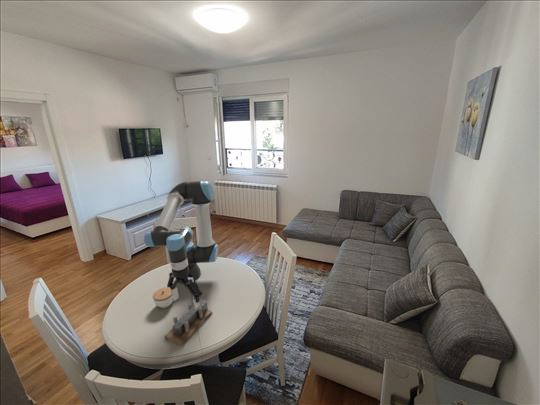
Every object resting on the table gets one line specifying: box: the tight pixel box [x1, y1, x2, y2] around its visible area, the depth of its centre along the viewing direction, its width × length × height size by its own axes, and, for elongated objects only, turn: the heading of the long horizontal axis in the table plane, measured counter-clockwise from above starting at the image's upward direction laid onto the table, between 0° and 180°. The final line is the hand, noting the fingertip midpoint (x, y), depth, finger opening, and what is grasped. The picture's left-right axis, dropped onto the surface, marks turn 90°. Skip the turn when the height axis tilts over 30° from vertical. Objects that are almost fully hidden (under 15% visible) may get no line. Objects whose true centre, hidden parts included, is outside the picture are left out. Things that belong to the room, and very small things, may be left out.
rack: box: [164, 303, 213, 347], centre depth 122 cm, size 22×11×8 cm, turn 155°
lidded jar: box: [152, 286, 174, 309], centre depth 137 cm, size 11×11×9 cm
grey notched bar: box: [172, 298, 209, 337], centre depth 124 cm, size 20×5×5 cm, turn 155°
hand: (186, 302), depth 120 cm, fingers open, 13 cm apart
